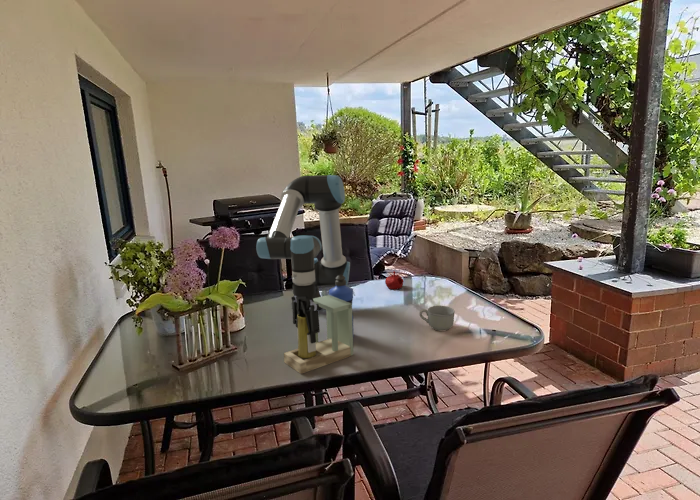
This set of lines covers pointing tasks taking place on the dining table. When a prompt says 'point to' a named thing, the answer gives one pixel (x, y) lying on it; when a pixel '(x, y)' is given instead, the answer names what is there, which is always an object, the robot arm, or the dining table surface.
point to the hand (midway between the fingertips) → (306, 348)
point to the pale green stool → (337, 320)
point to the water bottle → (342, 291)
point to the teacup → (439, 317)
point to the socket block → (317, 356)
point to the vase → (303, 338)
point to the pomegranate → (394, 281)
